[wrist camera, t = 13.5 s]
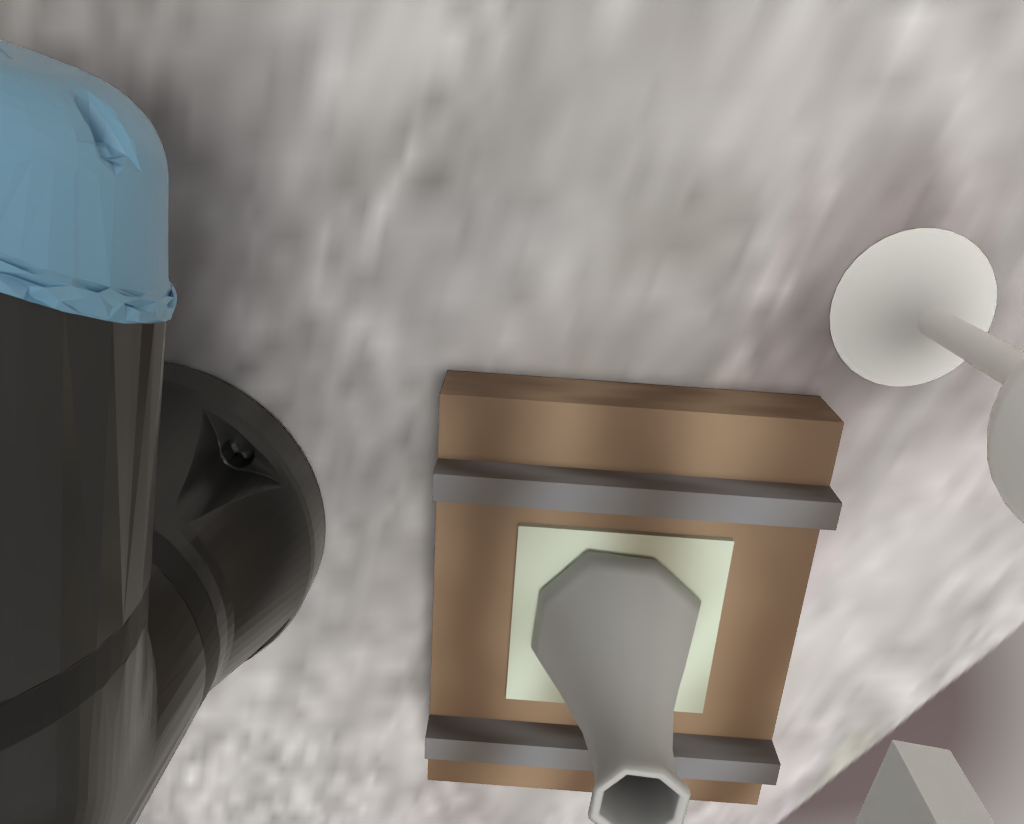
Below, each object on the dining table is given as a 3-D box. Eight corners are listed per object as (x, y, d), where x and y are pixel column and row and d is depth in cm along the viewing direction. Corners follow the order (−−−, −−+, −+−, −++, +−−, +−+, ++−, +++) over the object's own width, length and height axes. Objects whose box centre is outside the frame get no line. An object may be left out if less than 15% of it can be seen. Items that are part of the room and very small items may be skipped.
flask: (503, 650, 36) (489, 842, 27) (578, 522, 34) (591, 684, 24) (646, 710, 37) (681, 915, 28) (729, 589, 35) (798, 770, 25)
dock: (435, 734, 42) (423, 804, 38) (447, 369, 35) (435, 407, 31) (742, 757, 42) (764, 830, 38) (819, 396, 35) (857, 437, 31)
